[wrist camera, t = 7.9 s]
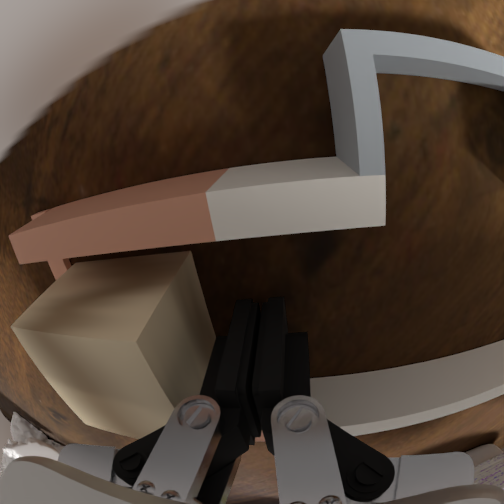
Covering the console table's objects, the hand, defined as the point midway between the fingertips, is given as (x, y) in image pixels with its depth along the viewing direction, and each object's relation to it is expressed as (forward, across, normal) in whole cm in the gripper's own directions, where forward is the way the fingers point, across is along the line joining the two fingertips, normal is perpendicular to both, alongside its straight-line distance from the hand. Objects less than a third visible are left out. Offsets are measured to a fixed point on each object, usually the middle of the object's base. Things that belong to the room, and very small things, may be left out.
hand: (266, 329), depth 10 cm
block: (+1, +6, 0) cm, 6 cm away
